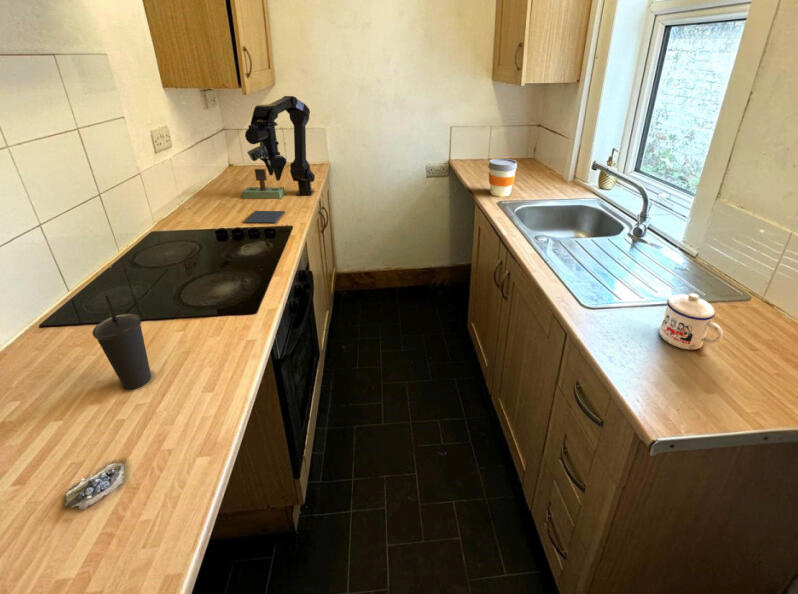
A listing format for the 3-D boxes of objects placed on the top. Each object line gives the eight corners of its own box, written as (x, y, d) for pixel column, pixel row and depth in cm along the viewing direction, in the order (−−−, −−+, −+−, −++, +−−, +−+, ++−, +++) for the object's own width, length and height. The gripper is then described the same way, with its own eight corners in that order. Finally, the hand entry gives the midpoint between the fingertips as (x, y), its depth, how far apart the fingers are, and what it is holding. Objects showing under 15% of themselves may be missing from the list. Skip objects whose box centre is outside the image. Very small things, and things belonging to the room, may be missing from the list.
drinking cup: (110, 400, 79) (74, 312, 71) (118, 374, 85) (86, 290, 77) (156, 388, 82) (127, 302, 74) (161, 363, 88) (134, 282, 80)
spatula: (260, 195, 191) (256, 168, 186) (269, 195, 191) (265, 168, 186) (258, 196, 189) (254, 169, 184) (268, 196, 189) (263, 169, 184)
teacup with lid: (649, 333, 98) (662, 291, 93) (672, 322, 102) (685, 280, 97) (703, 364, 88) (720, 318, 83) (725, 349, 92) (742, 305, 88)
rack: (248, 193, 194) (247, 187, 192) (284, 193, 193) (284, 187, 192) (242, 198, 187) (241, 191, 186) (280, 198, 187) (279, 192, 186)
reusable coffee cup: (519, 194, 192) (523, 162, 186) (500, 199, 186) (503, 166, 180) (500, 187, 202) (502, 157, 195) (481, 192, 195) (483, 160, 189)
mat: (255, 212, 171) (255, 210, 171) (284, 212, 171) (284, 211, 171) (244, 223, 160) (243, 221, 160) (275, 223, 160) (274, 221, 160)
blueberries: (54, 506, 61) (49, 498, 60) (102, 458, 68) (98, 450, 67) (92, 516, 59) (88, 508, 58) (137, 466, 66) (134, 458, 66)
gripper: (241, 137, 165) (248, 175, 171) (253, 145, 151) (260, 187, 157) (269, 134, 170) (275, 171, 177) (284, 142, 156) (289, 182, 163)
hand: (274, 177), depth 168 cm, fingers open, 9 cm apart
